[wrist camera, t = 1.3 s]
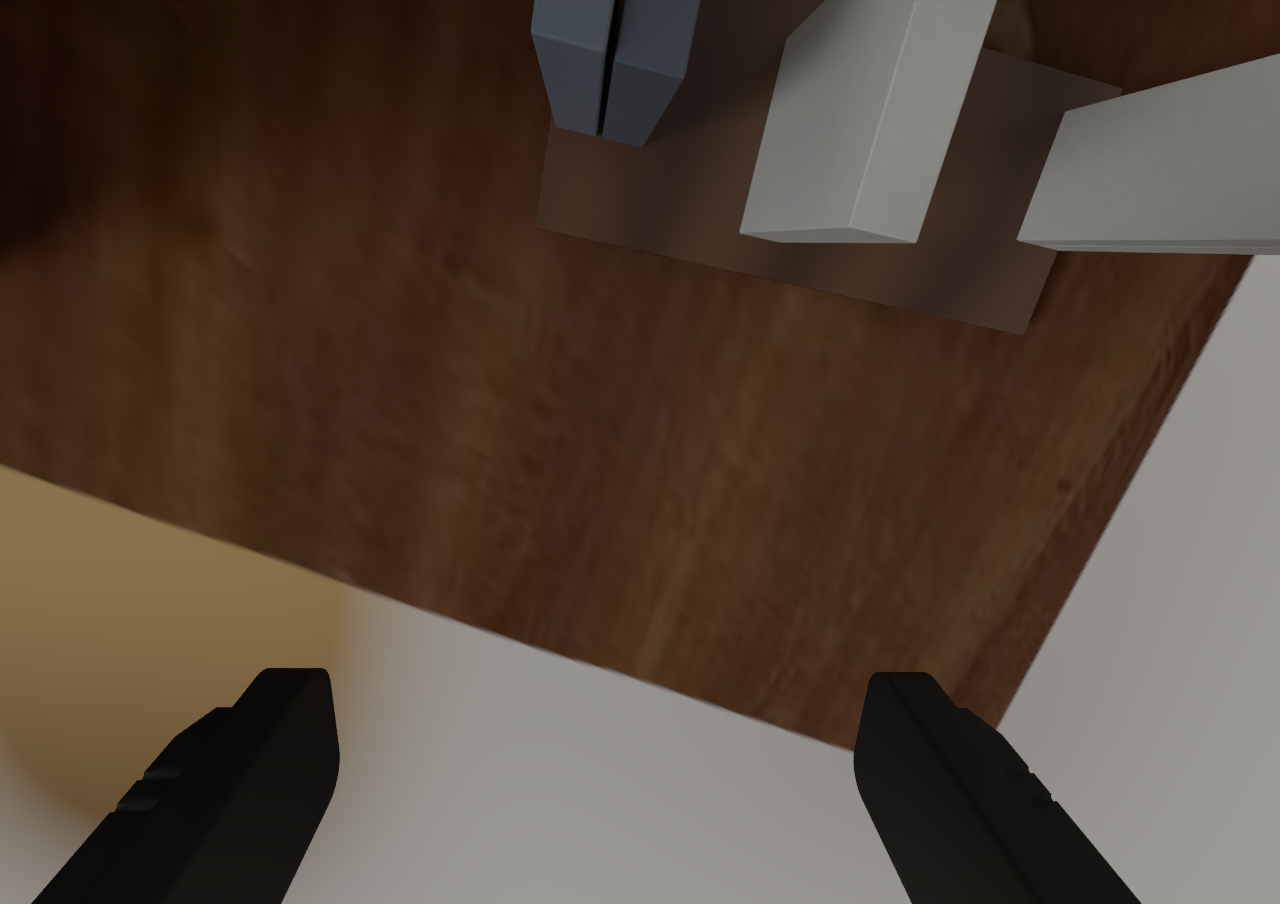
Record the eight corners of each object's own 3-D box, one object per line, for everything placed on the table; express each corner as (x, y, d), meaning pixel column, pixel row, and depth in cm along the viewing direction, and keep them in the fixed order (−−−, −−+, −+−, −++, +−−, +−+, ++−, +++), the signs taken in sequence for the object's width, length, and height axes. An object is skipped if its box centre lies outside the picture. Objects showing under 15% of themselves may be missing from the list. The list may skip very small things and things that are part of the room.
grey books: (555, 127, 23) (529, 33, 13) (577, -28, 21) (570, -280, 11) (642, 148, 23) (687, 75, 13) (671, -2, 22) (746, -218, 12)
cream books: (1015, 240, 26) (1302, 239, 15) (1064, 111, 24) (1419, 14, 14) (1058, 250, 26) (1369, 257, 16) (1109, 124, 25) (1491, 38, 14)
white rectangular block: (738, 233, 25) (848, 227, 14) (786, 38, 23) (955, -134, 12) (780, 242, 25) (917, 244, 15) (831, 50, 23) (1033, -106, 13)
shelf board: (537, 228, 25) (534, 227, 24) (579, -58, 22) (578, -73, 21) (1006, 332, 28) (1024, 335, 27) (1100, 95, 25) (1124, 88, 24)
